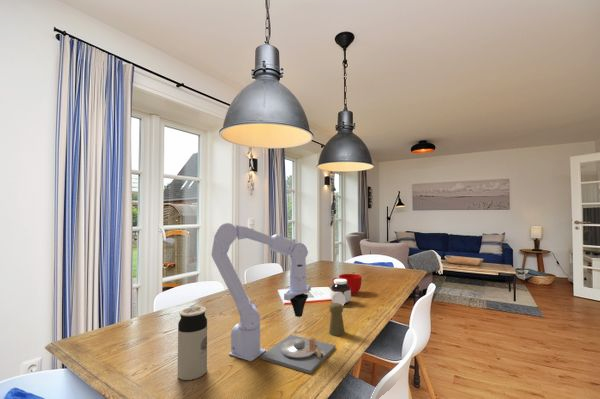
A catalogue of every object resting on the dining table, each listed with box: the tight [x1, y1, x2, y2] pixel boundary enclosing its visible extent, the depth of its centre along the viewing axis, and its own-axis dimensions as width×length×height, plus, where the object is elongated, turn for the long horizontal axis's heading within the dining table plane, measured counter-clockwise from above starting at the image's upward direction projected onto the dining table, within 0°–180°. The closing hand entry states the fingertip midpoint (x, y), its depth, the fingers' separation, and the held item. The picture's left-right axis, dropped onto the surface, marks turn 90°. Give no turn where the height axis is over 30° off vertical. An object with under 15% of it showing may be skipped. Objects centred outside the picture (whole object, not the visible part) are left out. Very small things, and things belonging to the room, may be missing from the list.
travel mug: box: [177, 305, 208, 381], centre depth 82 cm, size 8×8×18 cm
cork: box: [328, 302, 346, 337], centre depth 109 cm, size 6×6×11 cm
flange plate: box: [281, 337, 325, 359], centre depth 92 cm, size 12×15×4 cm
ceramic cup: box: [331, 273, 363, 296], centre depth 163 cm, size 13×17×10 cm
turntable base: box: [260, 334, 336, 375], centre depth 92 cm, size 18×18×4 cm
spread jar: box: [330, 278, 352, 307], centre depth 144 cm, size 12×11×12 cm
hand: (298, 316), depth 98 cm, fingers closed
